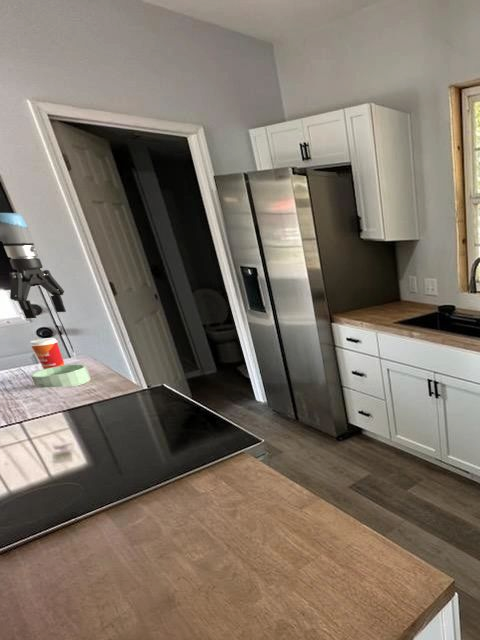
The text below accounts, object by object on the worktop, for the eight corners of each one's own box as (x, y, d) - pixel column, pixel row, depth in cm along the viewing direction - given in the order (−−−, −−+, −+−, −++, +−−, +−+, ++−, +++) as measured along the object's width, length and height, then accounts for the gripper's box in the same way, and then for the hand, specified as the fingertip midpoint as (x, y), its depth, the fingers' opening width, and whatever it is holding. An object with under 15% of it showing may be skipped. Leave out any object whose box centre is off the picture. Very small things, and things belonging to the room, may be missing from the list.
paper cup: (38, 375, 165) (23, 342, 160) (61, 369, 172) (47, 337, 167) (52, 377, 163) (37, 343, 158) (75, 370, 170) (61, 338, 165)
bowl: (34, 385, 155) (28, 371, 153) (86, 374, 166) (81, 361, 164) (40, 394, 147) (33, 379, 145) (94, 382, 158) (88, 368, 156)
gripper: (4, 259, 141) (29, 320, 149) (63, 256, 164) (83, 309, 172) (-22, 259, 140) (4, 321, 147) (41, 256, 163) (62, 310, 170)
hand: (47, 315), depth 159 cm, fingers open, 13 cm apart
